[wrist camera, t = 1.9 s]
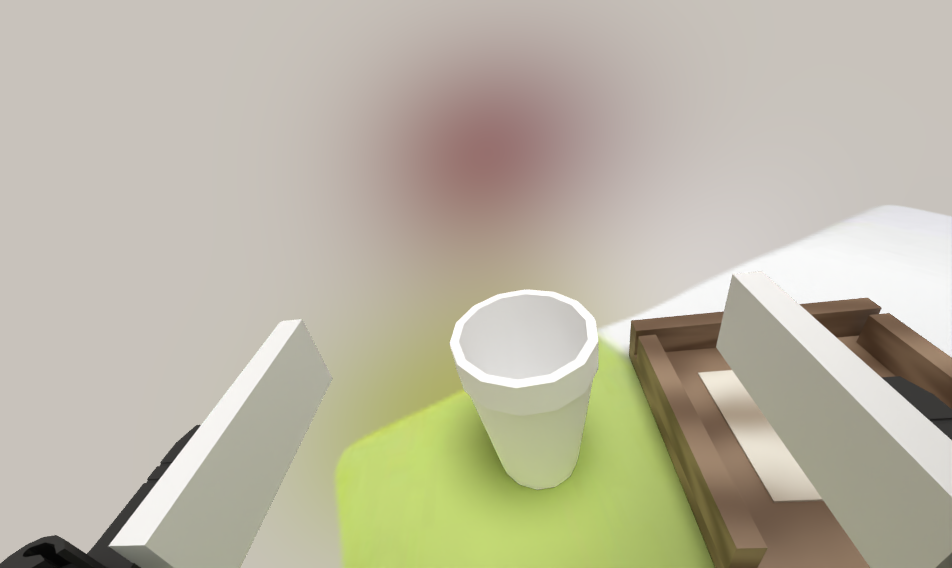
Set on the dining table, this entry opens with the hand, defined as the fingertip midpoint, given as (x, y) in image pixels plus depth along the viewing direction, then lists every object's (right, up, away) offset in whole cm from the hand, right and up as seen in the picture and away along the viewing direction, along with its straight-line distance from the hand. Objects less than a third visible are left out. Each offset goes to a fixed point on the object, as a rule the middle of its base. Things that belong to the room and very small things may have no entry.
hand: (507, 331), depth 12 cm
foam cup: (+4, -12, +20) cm, 24 cm away
